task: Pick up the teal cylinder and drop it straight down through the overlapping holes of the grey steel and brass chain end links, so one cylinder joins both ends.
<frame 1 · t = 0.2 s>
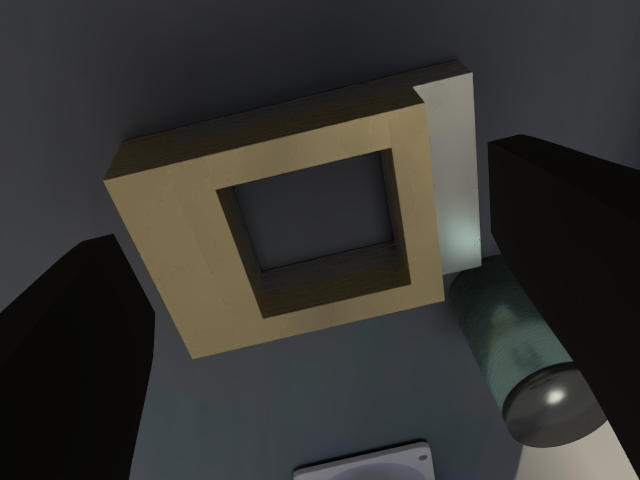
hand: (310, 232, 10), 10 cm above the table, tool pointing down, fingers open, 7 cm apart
teal cylinder: (490, 289, 25), on the table
lower end link: (313, 198, 21), on the table
upper end link: (290, 224, 20), in the lower end link
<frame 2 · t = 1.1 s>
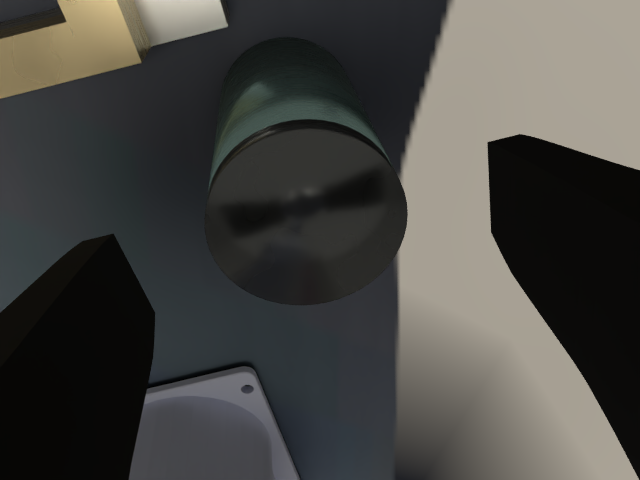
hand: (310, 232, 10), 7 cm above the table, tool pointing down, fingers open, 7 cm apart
teal cylinder: (287, 105, 16), on the table
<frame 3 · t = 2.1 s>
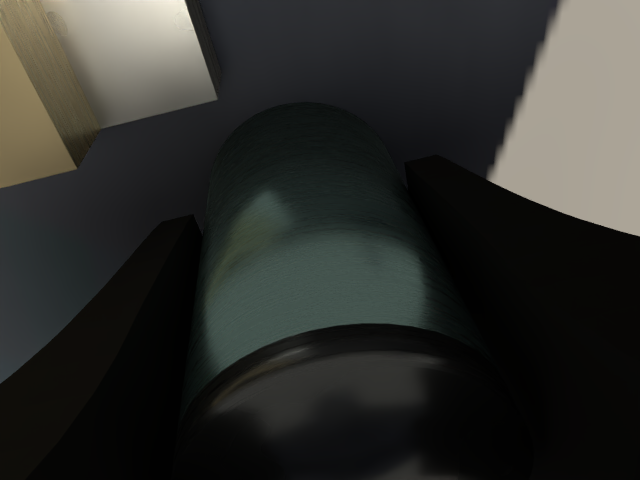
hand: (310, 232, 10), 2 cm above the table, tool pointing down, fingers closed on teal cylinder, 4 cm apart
teal cylinder: (303, 192, 12), on the table, touching gripper
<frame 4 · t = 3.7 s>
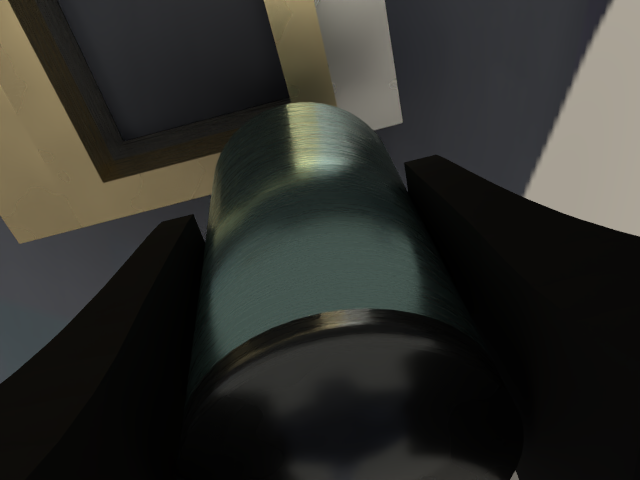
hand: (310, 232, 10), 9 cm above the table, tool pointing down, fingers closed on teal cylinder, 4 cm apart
teal cylinder: (304, 189, 12), point 7 cm above the table, touching gripper
lower end link: (174, 30, 16), on the table
upper end link: (133, 51, 15), in the lower end link
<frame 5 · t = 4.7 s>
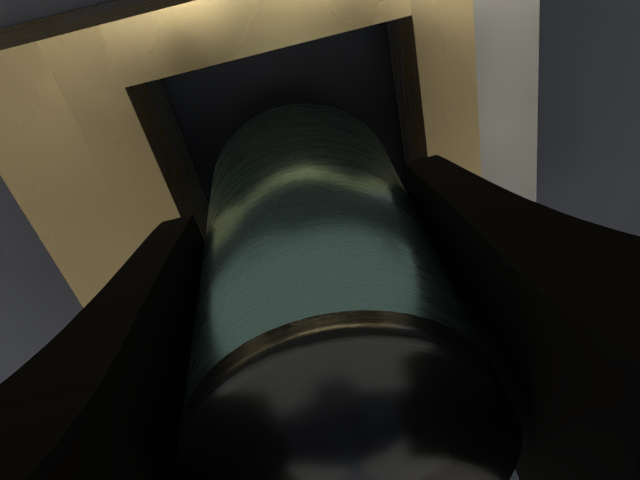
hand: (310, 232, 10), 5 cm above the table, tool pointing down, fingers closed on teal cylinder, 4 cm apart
teal cylinder: (303, 190, 12), point 3 cm above the table, touching gripper
lower end link: (292, 128, 15), on the table
upper end link: (257, 161, 13), in the lower end link
when the fingers open (3 cm above the table, at t = 5.5 s): teal cylinder drops 1 cm, resting in lower end link.
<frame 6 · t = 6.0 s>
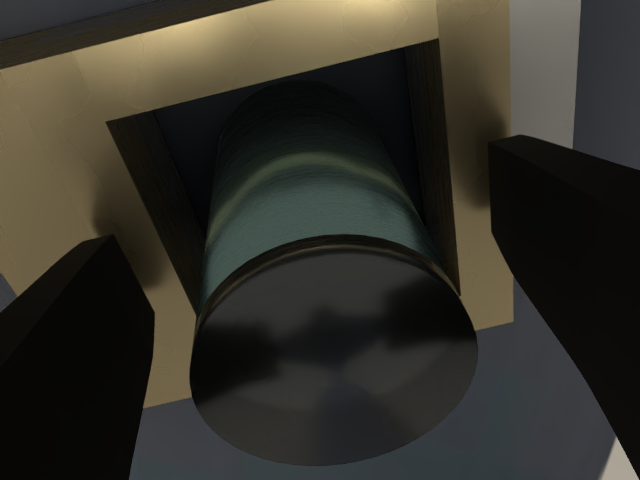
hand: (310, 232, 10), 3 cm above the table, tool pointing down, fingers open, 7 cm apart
teal cylinder: (299, 161, 13), resting in lower end link
lower end link: (297, 157, 13), on the table
upper end link: (258, 196, 12), in the lower end link
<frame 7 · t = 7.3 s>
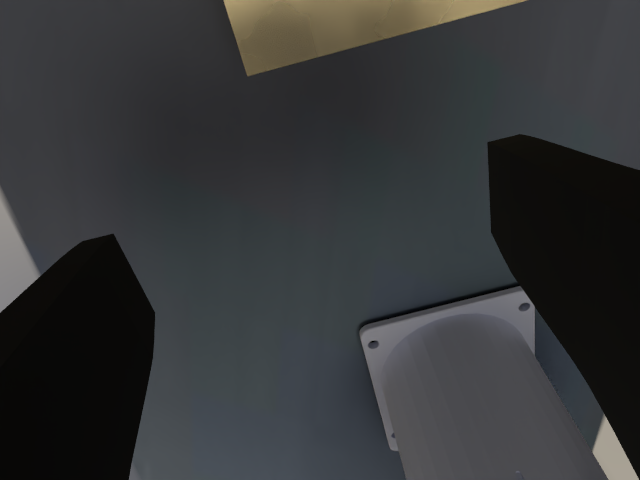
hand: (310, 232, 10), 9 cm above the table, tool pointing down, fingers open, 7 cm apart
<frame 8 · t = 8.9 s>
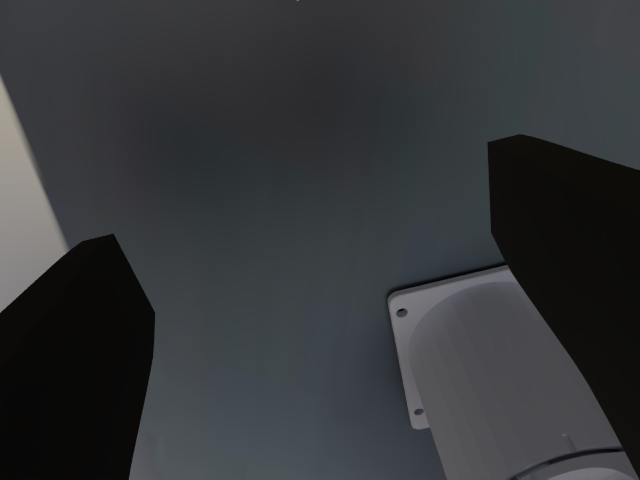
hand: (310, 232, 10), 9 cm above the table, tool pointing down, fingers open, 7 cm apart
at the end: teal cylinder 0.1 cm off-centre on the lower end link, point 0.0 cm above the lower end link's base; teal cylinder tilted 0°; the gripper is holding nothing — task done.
